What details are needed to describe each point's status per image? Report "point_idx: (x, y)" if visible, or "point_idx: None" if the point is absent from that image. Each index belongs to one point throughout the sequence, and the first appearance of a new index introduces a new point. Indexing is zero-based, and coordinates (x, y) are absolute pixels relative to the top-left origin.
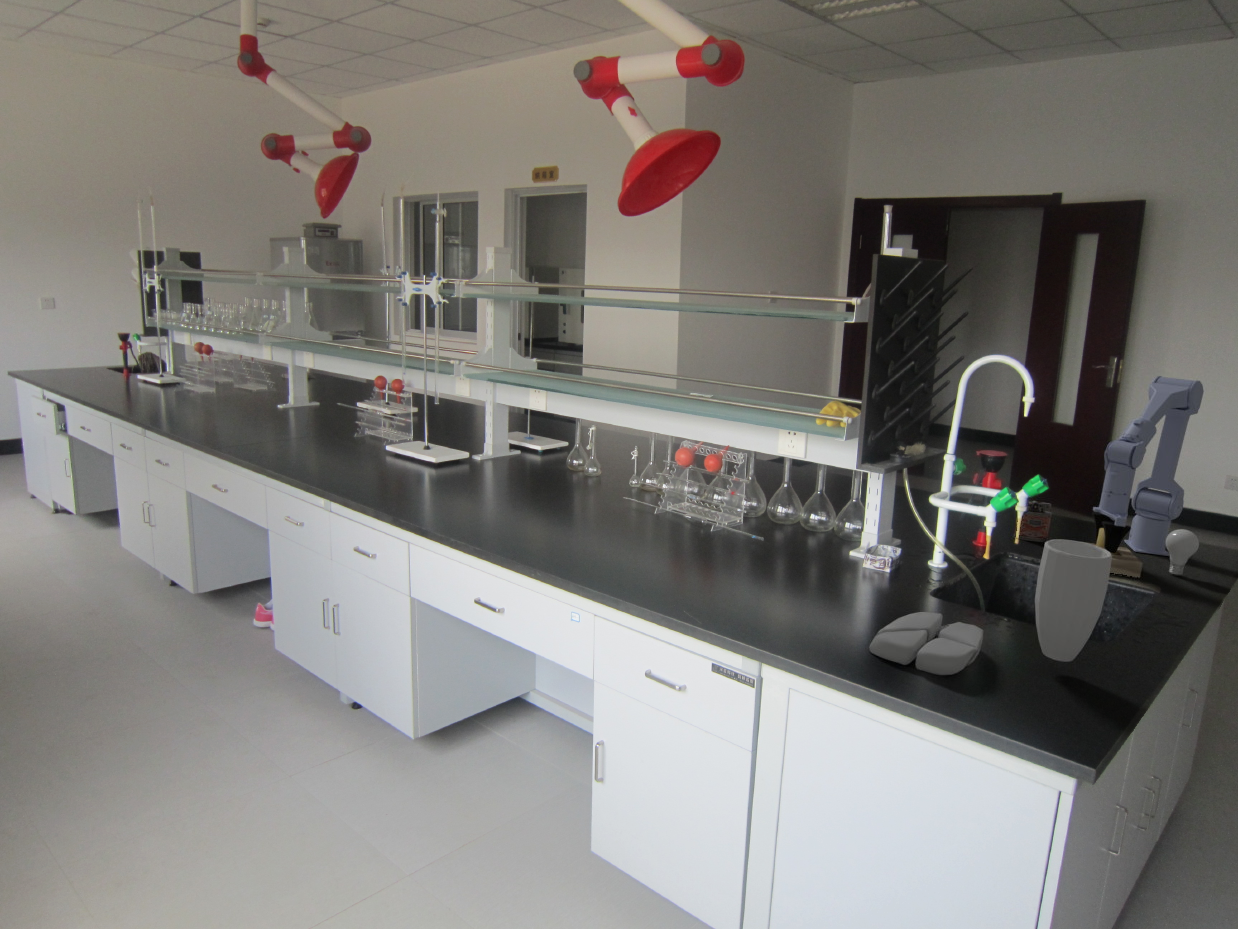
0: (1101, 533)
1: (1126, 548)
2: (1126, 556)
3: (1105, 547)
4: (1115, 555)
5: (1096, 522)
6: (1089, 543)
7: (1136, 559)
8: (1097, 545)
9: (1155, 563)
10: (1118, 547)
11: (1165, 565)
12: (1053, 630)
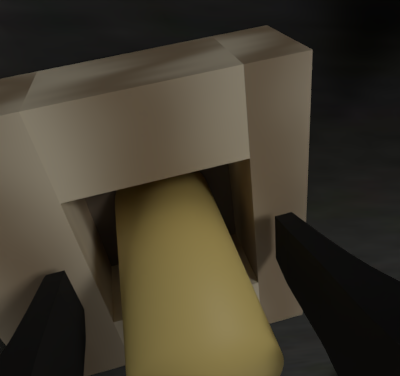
0: (154, 329)
1: (288, 314)
2: (120, 333)
3: (34, 299)
4: (91, 299)
5: (370, 320)
6: (295, 167)
7: (96, 365)
8: (152, 233)
9: (309, 329)
10: (289, 290)
11: (300, 348)
12: None
